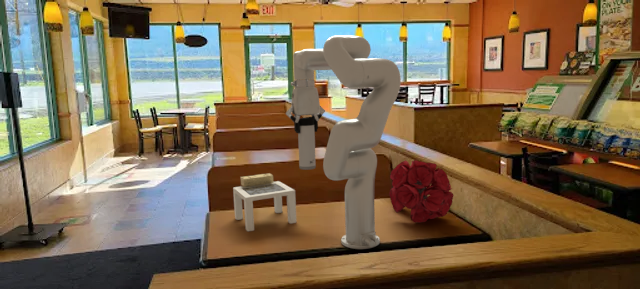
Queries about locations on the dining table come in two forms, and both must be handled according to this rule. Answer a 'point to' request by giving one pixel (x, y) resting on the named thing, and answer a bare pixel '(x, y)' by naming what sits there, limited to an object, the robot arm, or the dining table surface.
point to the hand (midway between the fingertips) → (306, 131)
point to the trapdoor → (258, 181)
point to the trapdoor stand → (249, 199)
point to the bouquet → (420, 190)
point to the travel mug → (307, 143)
